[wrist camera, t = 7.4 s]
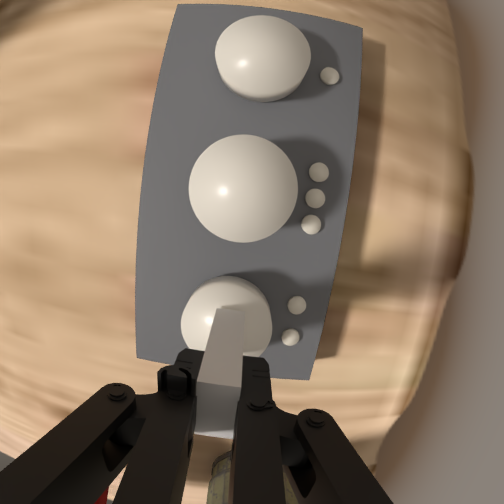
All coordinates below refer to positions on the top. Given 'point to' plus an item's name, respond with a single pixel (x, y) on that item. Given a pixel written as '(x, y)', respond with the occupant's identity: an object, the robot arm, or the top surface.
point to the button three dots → (243, 188)
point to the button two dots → (233, 298)
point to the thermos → (220, 483)
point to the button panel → (274, 130)
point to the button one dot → (262, 58)
